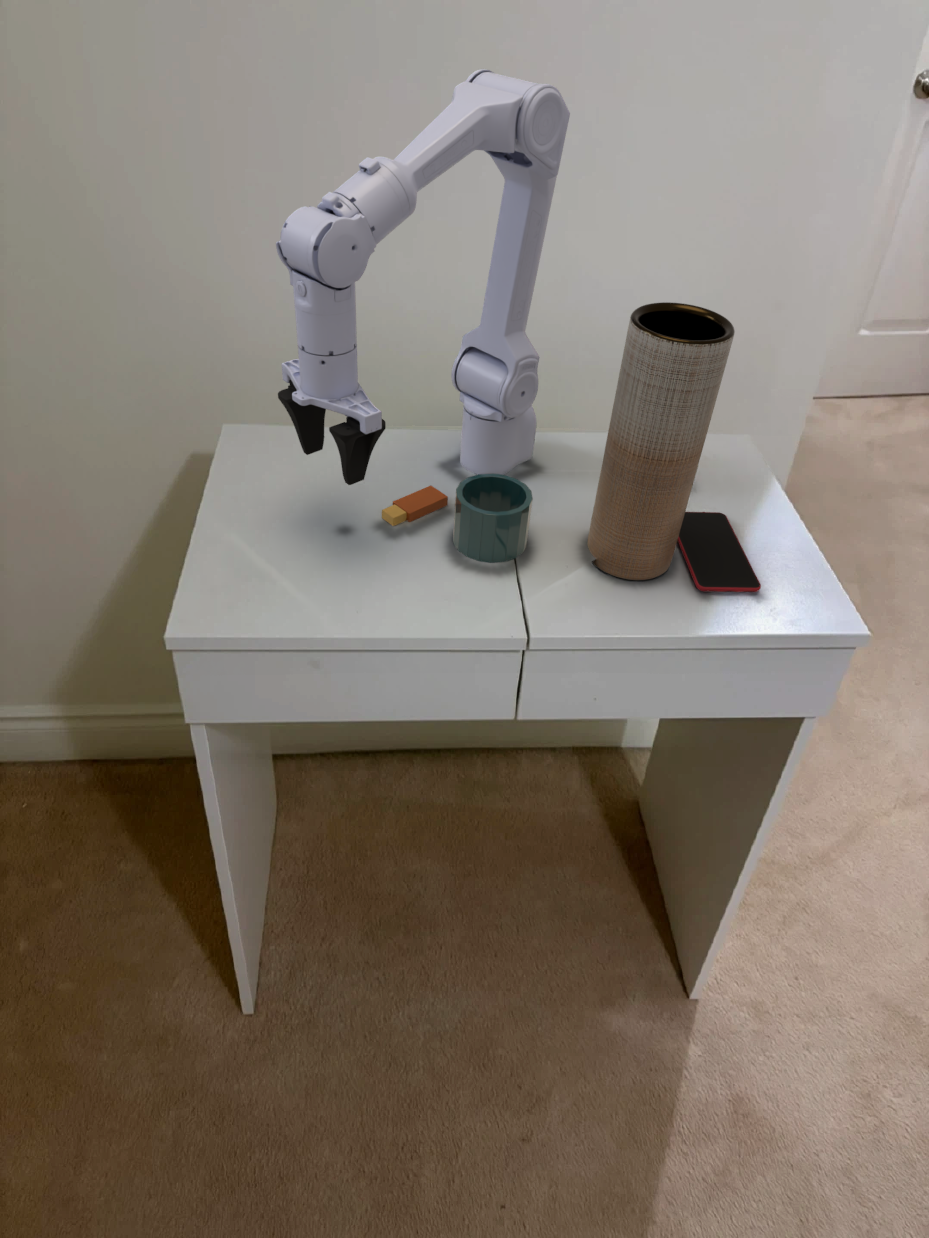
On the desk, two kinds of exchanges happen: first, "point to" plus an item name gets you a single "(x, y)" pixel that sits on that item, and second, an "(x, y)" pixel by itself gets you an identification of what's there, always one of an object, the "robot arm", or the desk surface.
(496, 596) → the desk surface
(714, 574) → the smartphone
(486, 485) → the cup
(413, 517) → the tan orange collared block
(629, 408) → the vase
